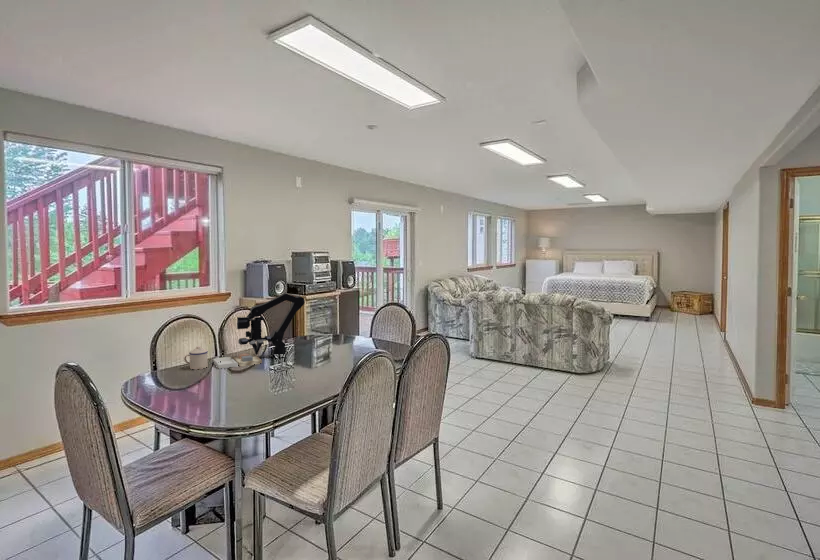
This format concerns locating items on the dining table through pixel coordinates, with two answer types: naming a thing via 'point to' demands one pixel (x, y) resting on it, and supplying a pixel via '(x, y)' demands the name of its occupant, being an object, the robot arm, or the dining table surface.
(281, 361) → the dining table surface
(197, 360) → the teacup with lid
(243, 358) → the slate tile
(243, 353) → the terracotta tile
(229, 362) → the tray
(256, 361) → the birch board
